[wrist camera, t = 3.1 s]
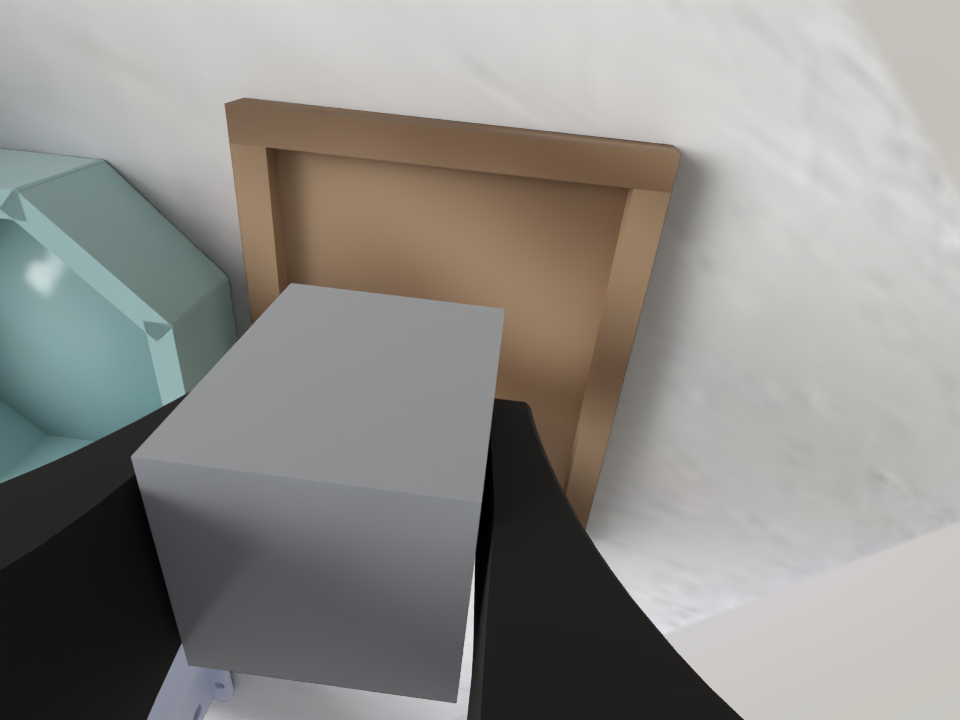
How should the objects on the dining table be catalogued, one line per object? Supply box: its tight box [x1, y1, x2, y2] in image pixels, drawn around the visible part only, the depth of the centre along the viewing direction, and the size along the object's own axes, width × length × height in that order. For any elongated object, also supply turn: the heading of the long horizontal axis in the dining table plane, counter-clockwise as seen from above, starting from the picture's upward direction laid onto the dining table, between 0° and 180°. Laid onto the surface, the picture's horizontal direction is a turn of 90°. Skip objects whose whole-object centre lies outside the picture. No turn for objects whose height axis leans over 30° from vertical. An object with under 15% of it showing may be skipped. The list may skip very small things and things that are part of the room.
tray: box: [225, 98, 681, 529], centre depth 20 cm, size 15×12×1 cm
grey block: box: [131, 283, 505, 703], centre depth 10 cm, size 4×4×5 cm
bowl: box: [0, 148, 237, 483], centre depth 19 cm, size 12×12×4 cm
